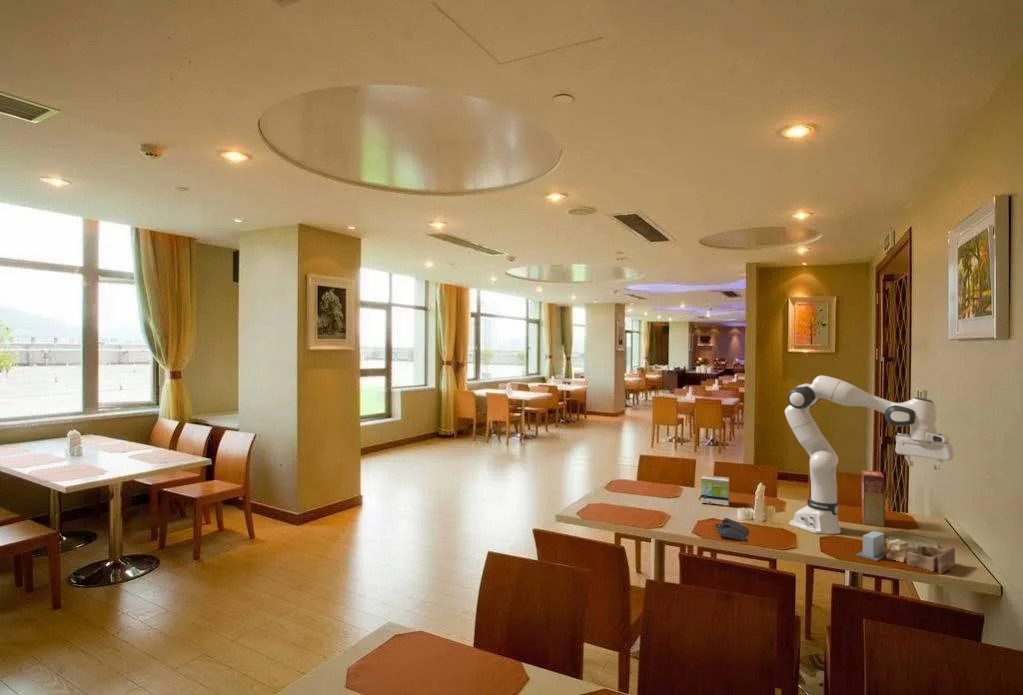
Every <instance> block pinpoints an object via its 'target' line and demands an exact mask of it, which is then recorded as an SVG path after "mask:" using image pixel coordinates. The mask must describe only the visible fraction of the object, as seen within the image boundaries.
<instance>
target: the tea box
mask: <svg viewBox="0 0 1023 695" xmlns="http://www.w3.org/2000/svg"><path fill="white" fill-rule="evenodd" d="M729 502H730V477H725V476H715V475H706V474H702V475H701V478H700V504H701V503H715V504H723V505H728V506H729V505H730V504H729Z"/></svg>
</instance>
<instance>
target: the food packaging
mask: <svg viewBox="0 0 1023 695" xmlns="http://www.w3.org/2000/svg"><path fill="white" fill-rule="evenodd" d="M860 472H861V519H863V520H862V523H863V525H867V526H874V527H880V528H885V527H886V509H885V508H886V507H885V505H886V504H885V503H886V502H885V501H886V498H885V496H886V495H885V494H886V493H885V478H886V477H885V476H884V475H883V472H882V471H874V470H861V471H860Z"/></svg>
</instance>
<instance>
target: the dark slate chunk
mask: <svg viewBox="0 0 1023 695" xmlns="http://www.w3.org/2000/svg"><path fill="white" fill-rule="evenodd" d="M715 524H716V527H717V528H718V529H716V532H717V533H718V535H719V536H720V537H721V538H722V537H724V538H723V539H728V538H729V539H730V540H733V539H735V540H734V541H738V540H740V541H739V542H743V541H748V539H747V538H746V537H747V536H748V533H749V529H748V528H747V527H746V526H745V525H742V524H740V523H739V522H738V521H736V520H732V519H731V518H727V517H724V519H723V520H722V523H715ZM718 525H720V526H718ZM716 527H715V528H716ZM747 529H748V530H747Z"/></svg>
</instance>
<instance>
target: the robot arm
mask: <svg viewBox="0 0 1023 695" xmlns="http://www.w3.org/2000/svg"><path fill="white" fill-rule="evenodd" d="M820 399H824V400H828V401H829V402H832V403H835V404H838V405H841V406H846V407H863V408H867V409H868V408H869V409H871V410H874V411H875V412H876V411H877V412H880V413H882V414H884V419H885V421H886V422H887V423H888V424H890V425H892V426H894V427H903V426H910V433H902V432H901V433H900V432H899V433H897V434H896V435H895V442H896V443H895V449H894V450H895V453H896V454H897V455H903V456H904V458H905V460H906V461H907V466H909V467H913V466H914V461H912V460H911V459H910V458H911V456H912V457H917V458H926V459H933V460H936V461H937V464H934V465H933V467H934V468H933V470H936V471H939V470H940V468H941V467H940V466H941V465H942V464H943V462H944V461H948V462H949V461H952V460H953V459H954V448H953V445H952V443H950V442H951V437H950V436H948V435H946V434H943V433H939V432H937V426H936V422H937V406H936V404H935V402H934V401H933V400H931V399H929V398H924V397H913V398H911V399H909V400H907V401H903V402H901V401H900V402H895V401H891V400H888V399H886V398H883V397H880V396H878V395H875V394H872V393H869V392H867V391H865V390H863V389H861V388H859V387H857V386H856V385H854V384H852V383H849V382H847V381H845V380H842V379H839V378H836V377H832V376H829V375H823V374H822V375H821V374H820V375H818V376H816V377H815V378H814V379H813V380H812V382H805V383H803V384H799V385H797V386H795V387H794V388H792V389H791V390H790V391H789V392H788V394H787V402H788V404H789V405H788V406H786V407H785V409H784V415H785V418H786V421H787V423H788V425H789V427H790V428H791V431H792V433H793V434H794V435H795V438H796V439H797V441H798V442H799V444H800V445H801V446H802V447H803V449H804V450H805V451H806V453H807V454H808V455H809V457H810V458H809V474H810V475H809V476H810V498H808V499H806V500H805V503H806V504H807V505H805V506H803V507H802V508H799V509H798V510H796V512H795V513H794V516H793V519H791V520H789V522H788V525H790V526H792V527H795V528H797V529H801V530H805V531H806V532H811V533H813V534H826V535H827V534H828V535H838V534H840V533H842V529H841V528H840V523H839V516H838V514H839V502H838V484H837V466H838V464H839V457H838V454H837V453H836V452H835V450H834V448H833V447H832V446H831V444H830V443H829V442H828V440H827V439H826V437H825V436H824V435H823V433H822V431H821V430H820V428H819V426H818V425H817V422H816V421H815V420H814V418H813V417H812V414H811V412H810V408H812V407H813V406H814V405H816V404H817V403H818V402H819V401H820Z"/></svg>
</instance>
